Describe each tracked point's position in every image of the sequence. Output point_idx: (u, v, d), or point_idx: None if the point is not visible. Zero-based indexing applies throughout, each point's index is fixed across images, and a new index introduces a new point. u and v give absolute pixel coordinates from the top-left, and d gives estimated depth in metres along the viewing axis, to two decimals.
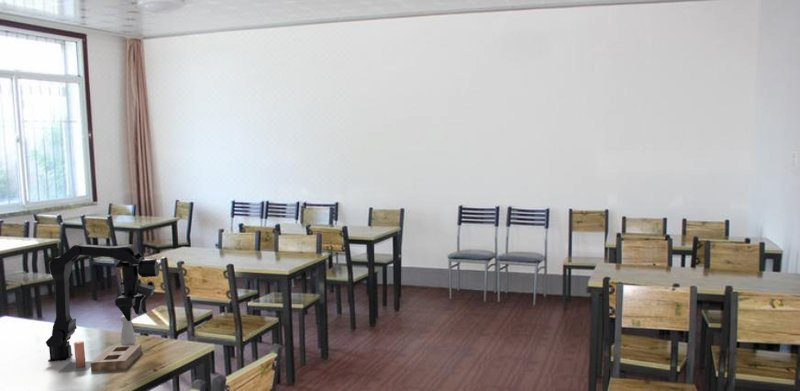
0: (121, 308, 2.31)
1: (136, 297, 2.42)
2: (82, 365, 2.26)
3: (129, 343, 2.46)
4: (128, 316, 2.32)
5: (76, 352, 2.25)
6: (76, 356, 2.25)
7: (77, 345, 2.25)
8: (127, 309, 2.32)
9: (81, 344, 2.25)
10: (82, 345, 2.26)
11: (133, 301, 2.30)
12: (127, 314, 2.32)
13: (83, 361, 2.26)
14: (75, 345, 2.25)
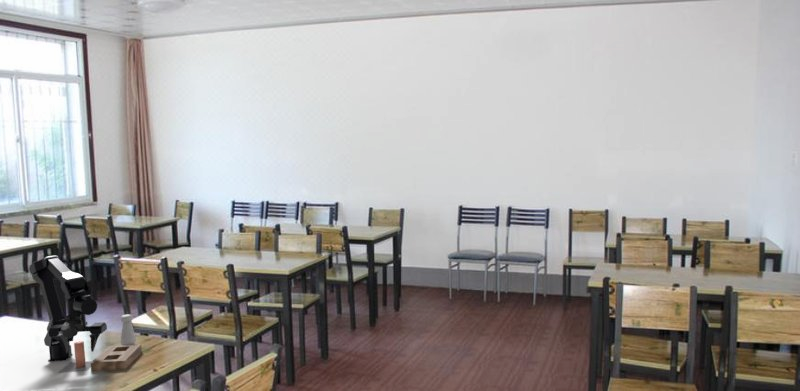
0: None
1: None
2: (82, 365, 2.26)
3: (129, 343, 2.46)
4: None
5: (76, 352, 2.25)
6: (76, 356, 2.25)
7: (77, 345, 2.25)
8: None
9: (81, 344, 2.25)
10: (82, 345, 2.26)
11: (52, 334, 2.22)
12: None
13: (83, 361, 2.26)
14: (75, 345, 2.25)
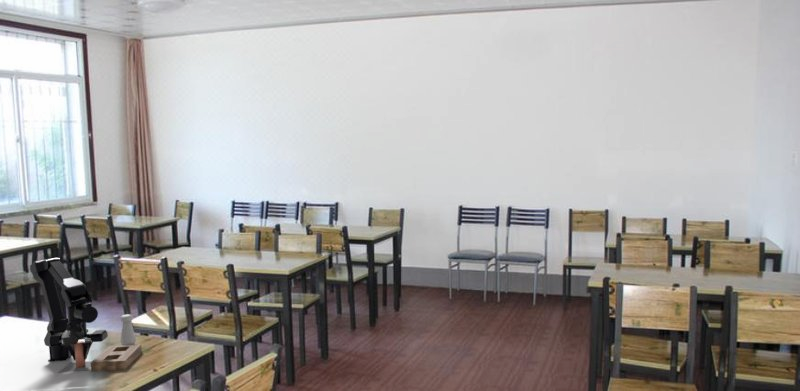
0: None
1: None
2: (82, 365, 2.26)
3: (129, 343, 2.46)
4: None
5: (76, 352, 2.25)
6: (76, 356, 2.25)
7: (77, 345, 2.25)
8: None
9: (81, 344, 2.25)
10: (82, 345, 2.26)
11: (53, 342, 2.22)
12: None
13: (83, 361, 2.26)
14: (75, 345, 2.25)
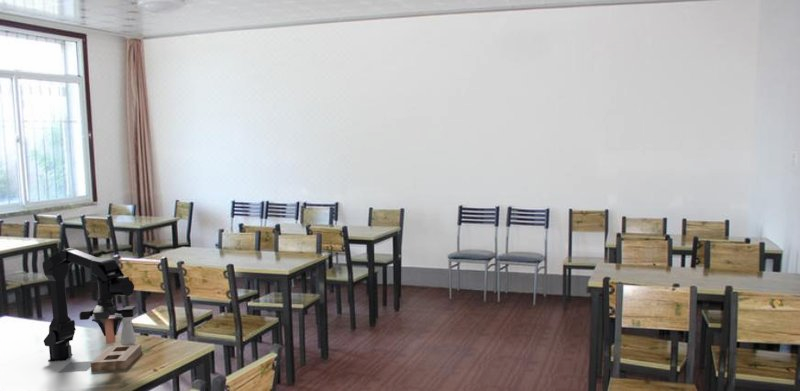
0: None
1: None
2: (112, 341, 2.25)
3: (129, 343, 2.46)
4: None
5: (106, 328, 2.24)
6: (106, 332, 2.24)
7: (108, 321, 2.23)
8: None
9: (111, 320, 2.24)
10: (112, 321, 2.24)
11: (84, 317, 2.21)
12: None
13: (113, 337, 2.25)
14: (105, 321, 2.23)
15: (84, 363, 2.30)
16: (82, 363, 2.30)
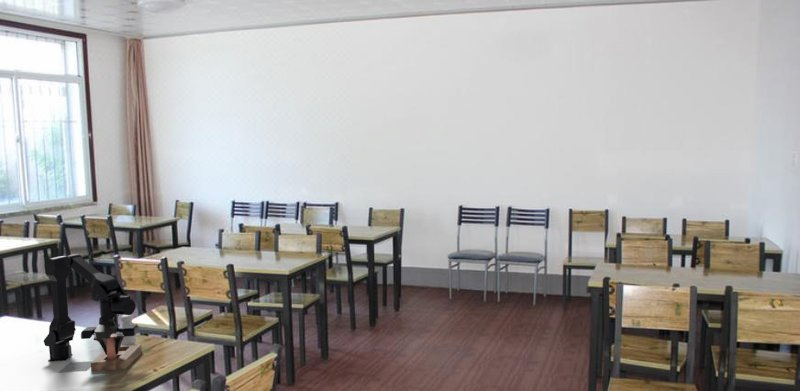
0: None
1: None
2: None
3: (129, 343, 2.46)
4: None
5: (108, 346, 2.24)
6: (108, 350, 2.24)
7: (109, 339, 2.24)
8: None
9: (113, 338, 2.25)
10: (114, 339, 2.25)
11: (86, 336, 2.22)
12: None
13: (115, 355, 2.25)
14: (107, 339, 2.24)
15: (84, 363, 2.30)
16: (82, 363, 2.30)
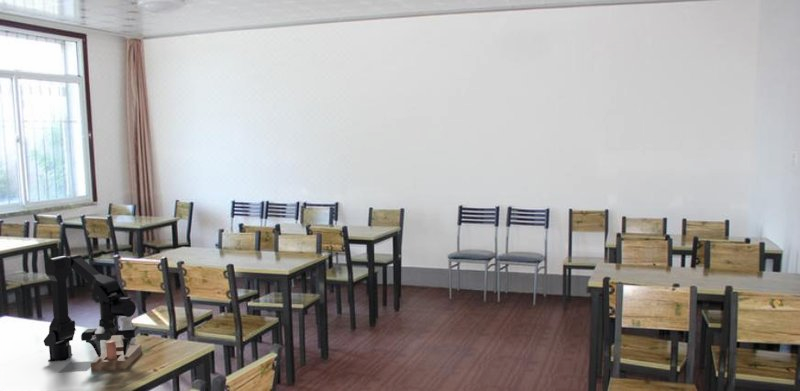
0: None
1: None
2: None
3: None
4: None
5: (108, 351, 2.24)
6: (108, 355, 2.25)
7: (109, 344, 2.24)
8: None
9: (113, 343, 2.25)
10: (114, 344, 2.25)
11: (86, 338, 2.22)
12: None
13: None
14: (107, 344, 2.24)
15: (84, 363, 2.30)
16: (82, 363, 2.30)
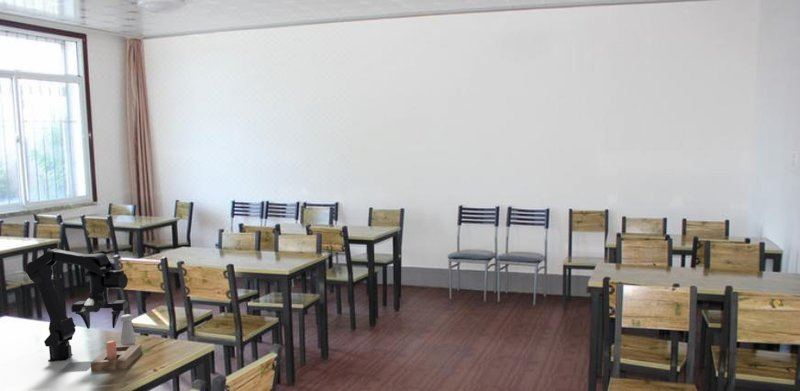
0: None
1: None
2: None
3: (129, 343, 2.46)
4: None
5: (108, 351, 2.24)
6: (108, 355, 2.25)
7: (109, 344, 2.24)
8: None
9: (113, 343, 2.25)
10: (114, 344, 2.25)
11: (76, 309, 2.28)
12: None
13: None
14: (107, 344, 2.24)
15: (84, 363, 2.30)
16: (82, 363, 2.30)
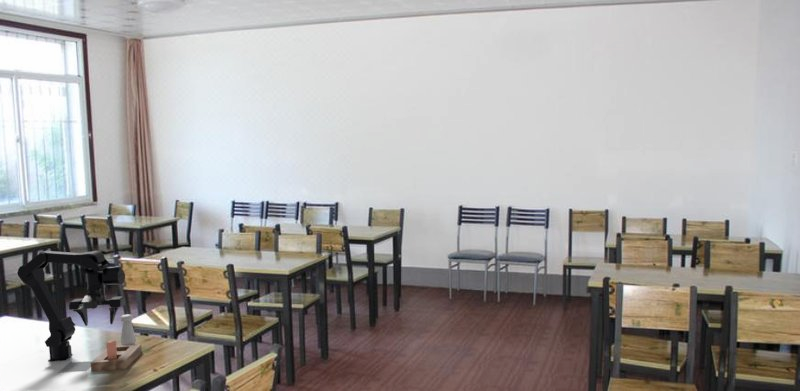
0: None
1: None
2: None
3: (129, 343, 2.46)
4: None
5: (108, 351, 2.24)
6: (108, 355, 2.25)
7: (110, 344, 2.24)
8: None
9: (113, 343, 2.25)
10: (114, 344, 2.25)
11: (73, 307, 2.31)
12: None
13: None
14: (108, 344, 2.24)
15: (84, 363, 2.30)
16: (82, 363, 2.30)
